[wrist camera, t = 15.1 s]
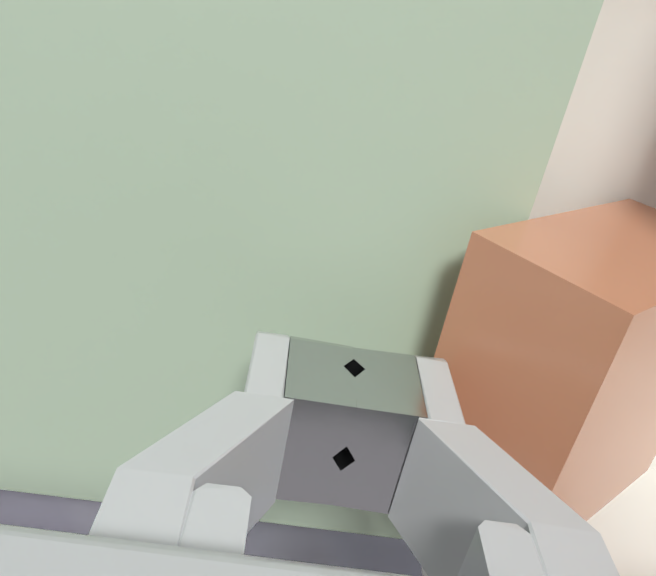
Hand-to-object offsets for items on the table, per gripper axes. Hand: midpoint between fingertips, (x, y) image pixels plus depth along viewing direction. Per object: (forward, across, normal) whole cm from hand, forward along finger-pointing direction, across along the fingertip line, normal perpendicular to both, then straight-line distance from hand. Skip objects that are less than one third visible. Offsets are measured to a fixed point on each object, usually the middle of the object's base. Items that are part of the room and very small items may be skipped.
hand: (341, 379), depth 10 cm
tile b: (+2, -3, 0) cm, 4 cm away
